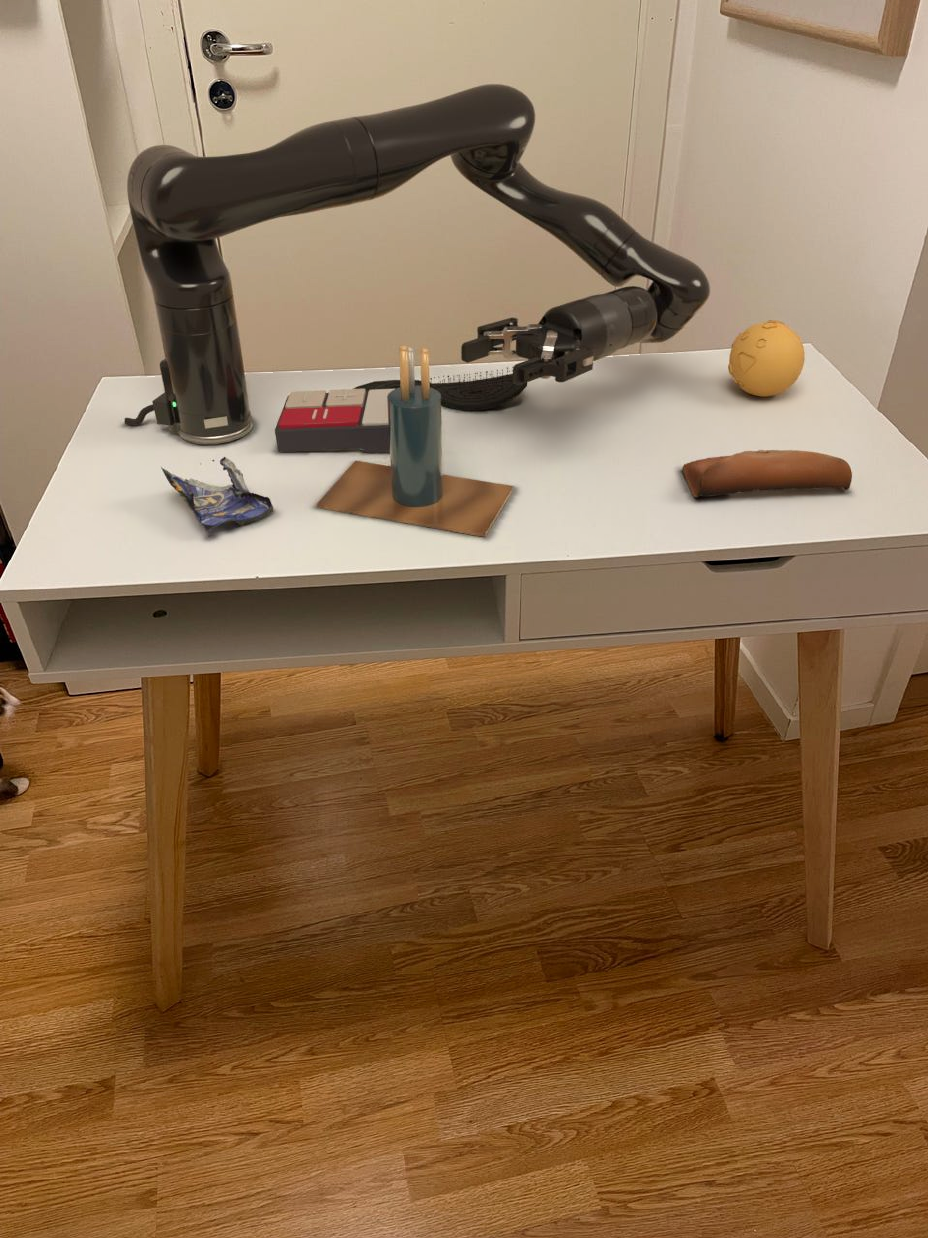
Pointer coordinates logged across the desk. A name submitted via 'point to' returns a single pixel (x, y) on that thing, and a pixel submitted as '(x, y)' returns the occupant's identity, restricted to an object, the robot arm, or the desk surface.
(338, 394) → the calculator
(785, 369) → the stress ball
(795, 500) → the desk surface
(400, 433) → the cutlery holder
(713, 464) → the sunglasses case
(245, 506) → the snack package
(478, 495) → the brown wooden board
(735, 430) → the desk surface
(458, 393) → the hairbrush
